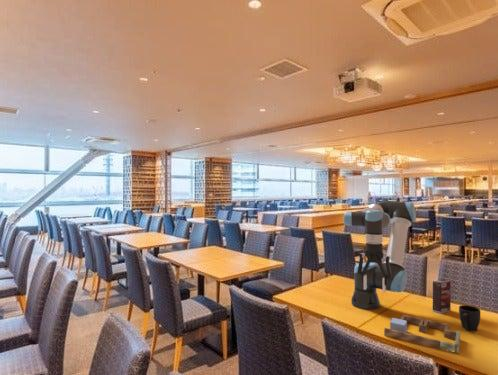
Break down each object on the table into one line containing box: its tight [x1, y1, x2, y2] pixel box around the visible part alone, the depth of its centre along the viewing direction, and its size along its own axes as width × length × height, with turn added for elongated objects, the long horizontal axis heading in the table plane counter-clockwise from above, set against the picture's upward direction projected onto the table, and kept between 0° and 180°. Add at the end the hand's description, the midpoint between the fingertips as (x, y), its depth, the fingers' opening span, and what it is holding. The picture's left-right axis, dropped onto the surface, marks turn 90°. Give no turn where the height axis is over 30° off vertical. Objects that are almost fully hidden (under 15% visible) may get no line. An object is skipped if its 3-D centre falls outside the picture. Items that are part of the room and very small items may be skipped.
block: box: [389, 317, 408, 333], centre depth 146 cm, size 6×6×5 cm
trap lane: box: [383, 314, 461, 354], centre depth 144 cm, size 28×21×4 cm
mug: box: [458, 304, 481, 332], centre depth 148 cm, size 8×12×10 cm
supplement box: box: [432, 279, 452, 314], centre depth 170 cm, size 9×5×16 cm, turn 116°
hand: (374, 290), depth 152 cm, fingers open, 8 cm apart
